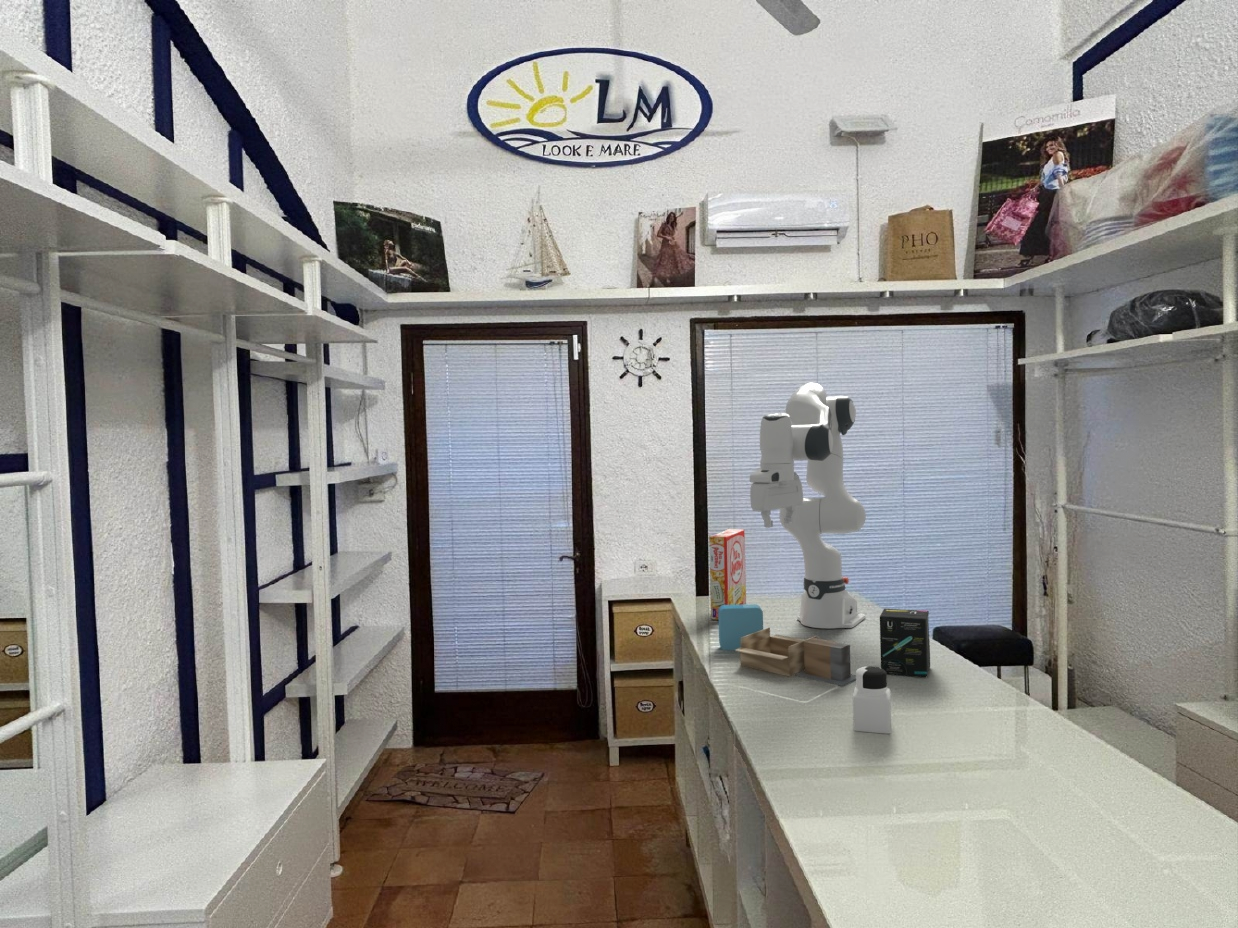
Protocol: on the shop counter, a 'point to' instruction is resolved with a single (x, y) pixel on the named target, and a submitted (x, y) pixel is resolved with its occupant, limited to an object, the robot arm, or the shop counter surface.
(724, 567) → the popcorn box
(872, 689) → the medicine bottle
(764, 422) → the robot arm
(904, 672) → the tampon box
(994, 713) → the shop counter surface
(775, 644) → the carton
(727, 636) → the blue rounded block
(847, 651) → the walnut box
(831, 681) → the mat
